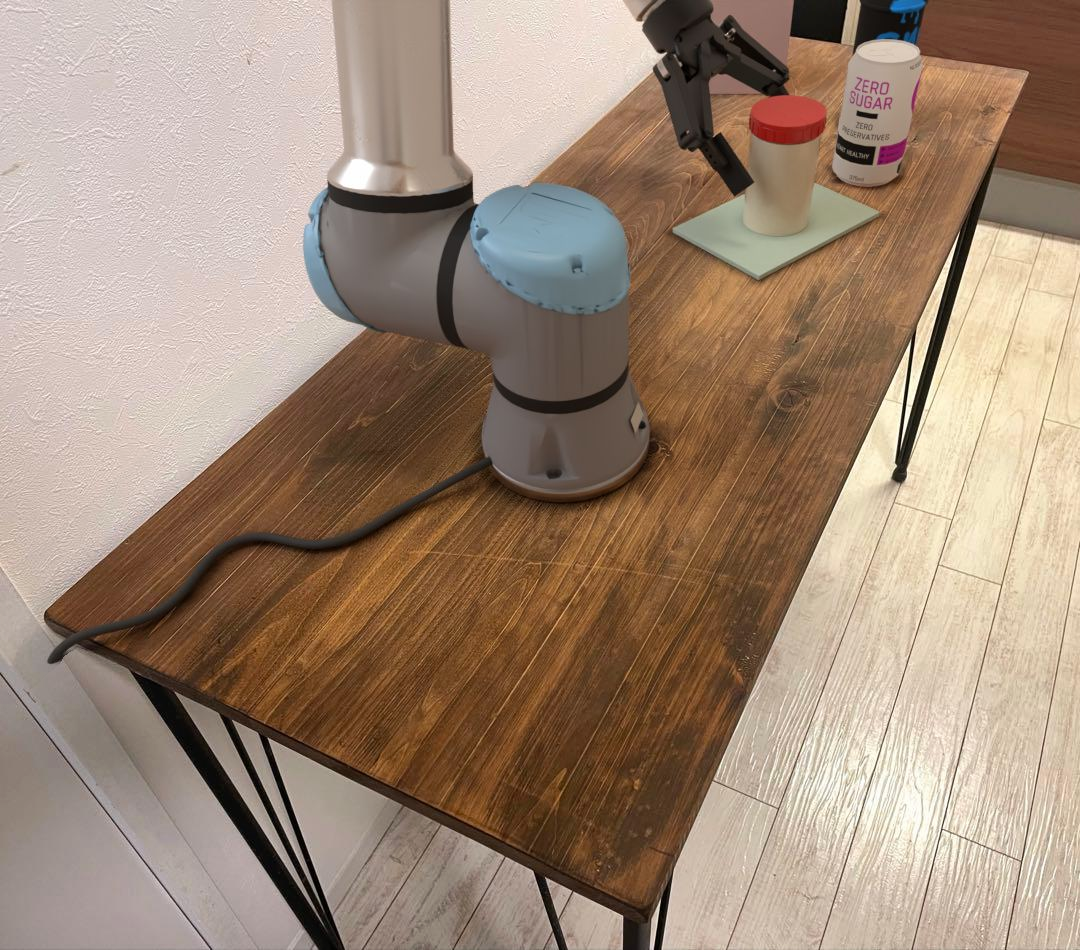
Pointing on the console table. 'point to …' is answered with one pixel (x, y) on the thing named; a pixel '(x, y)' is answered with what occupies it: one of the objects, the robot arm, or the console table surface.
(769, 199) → the jar
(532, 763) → the console table surface
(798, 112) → the lid
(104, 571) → the console table surface
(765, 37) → the greeting card
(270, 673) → the console table surface
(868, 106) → the white soda can
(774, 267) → the mat
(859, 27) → the aerosol can
